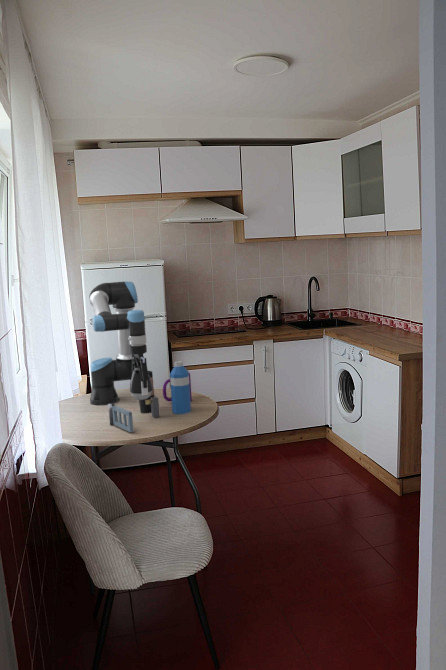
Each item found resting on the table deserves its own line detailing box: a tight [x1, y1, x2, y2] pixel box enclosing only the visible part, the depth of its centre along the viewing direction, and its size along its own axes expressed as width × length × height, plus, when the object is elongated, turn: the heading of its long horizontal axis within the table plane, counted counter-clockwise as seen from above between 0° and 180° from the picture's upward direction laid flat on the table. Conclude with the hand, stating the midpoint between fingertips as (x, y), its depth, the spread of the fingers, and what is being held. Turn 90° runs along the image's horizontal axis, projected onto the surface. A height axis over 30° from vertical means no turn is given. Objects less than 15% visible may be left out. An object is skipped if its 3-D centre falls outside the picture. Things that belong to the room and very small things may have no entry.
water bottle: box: [169, 360, 192, 415], centre depth 278 cm, size 9×9×25 cm
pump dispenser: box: [129, 367, 153, 401], centre depth 258 cm, size 10×10×15 cm
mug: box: [162, 372, 193, 402], centre depth 297 cm, size 9×16×15 cm, turn 118°
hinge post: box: [107, 403, 115, 426], centre depth 263 cm, size 3×3×10 cm
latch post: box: [145, 396, 160, 419], centre depth 272 cm, size 4×5×10 cm, turn 116°
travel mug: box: [138, 370, 155, 414], centre depth 282 cm, size 8×8×20 cm
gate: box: [112, 404, 134, 433], centre depth 254 cm, size 2×17×9 cm, turn 36°
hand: (141, 392), depth 259 cm, fingers closed on pump dispenser, 10 cm apart
